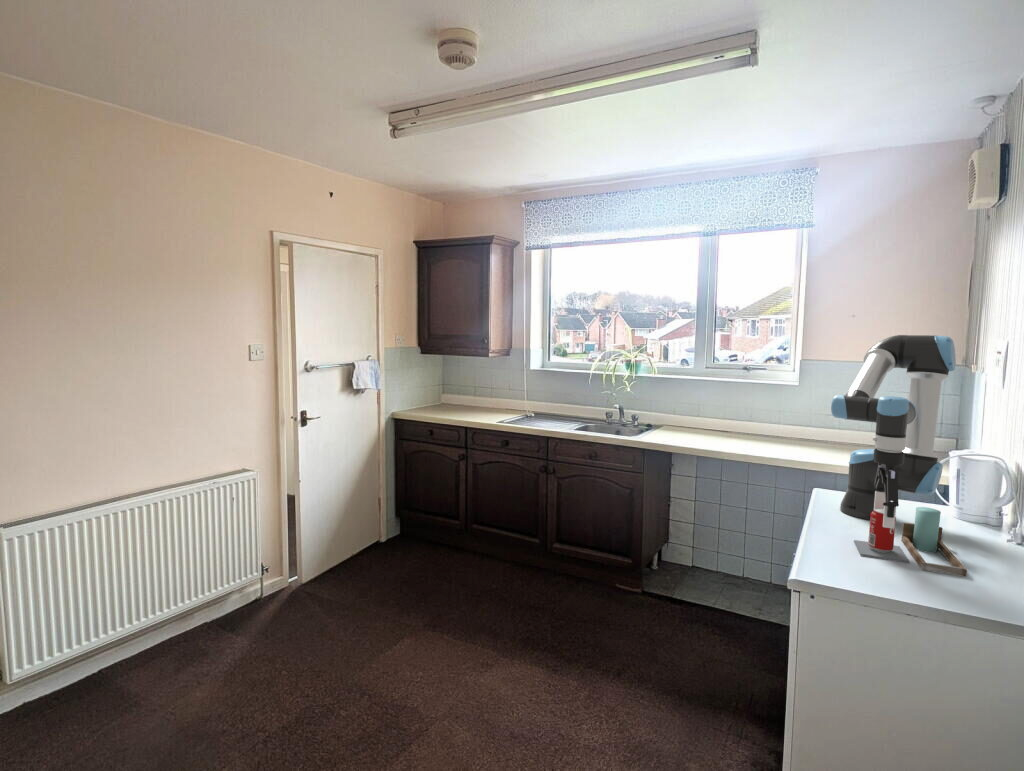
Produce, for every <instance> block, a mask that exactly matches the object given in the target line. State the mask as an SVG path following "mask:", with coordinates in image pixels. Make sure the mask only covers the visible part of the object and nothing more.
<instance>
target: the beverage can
mask: <svg viewBox="0 0 1024 771" xmlns="http://www.w3.org/2000/svg"><path fill="white" fill-rule="evenodd" d="M883 516H884V508H875V509H874V511H873V512H872V513H871V517H870V519H869V531H868V541H867V542H868V545H869V546H870V547H871V549H872V550H874V551H877V552H882V553H888V552H890V551H891V550H893V546H895V544H894V543H895V534H896V526H895V527H894V529H893V528H885V527H883ZM896 522H897V516H896V515H895V525H896V524H897V523H896Z"/></svg>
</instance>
